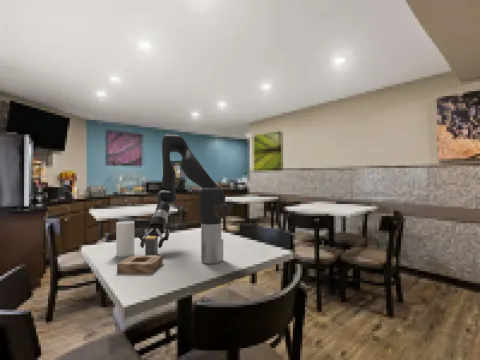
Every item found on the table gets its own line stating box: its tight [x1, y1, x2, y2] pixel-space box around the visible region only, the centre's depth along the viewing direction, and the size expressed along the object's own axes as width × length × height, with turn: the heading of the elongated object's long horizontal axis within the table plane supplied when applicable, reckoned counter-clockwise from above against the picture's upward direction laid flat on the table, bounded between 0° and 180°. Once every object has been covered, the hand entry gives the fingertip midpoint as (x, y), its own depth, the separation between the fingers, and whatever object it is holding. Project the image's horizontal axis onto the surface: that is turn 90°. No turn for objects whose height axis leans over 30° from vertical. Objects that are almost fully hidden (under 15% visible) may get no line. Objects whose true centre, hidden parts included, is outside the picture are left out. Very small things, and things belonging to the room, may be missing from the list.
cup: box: [115, 220, 135, 257], centre depth 125 cm, size 8×8×16 cm
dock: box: [116, 254, 164, 274], centre depth 104 cm, size 14×12×4 cm
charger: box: [144, 235, 159, 255], centre depth 121 cm, size 4×4×10 cm
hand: (150, 247), depth 119 cm, fingers open, 8 cm apart
